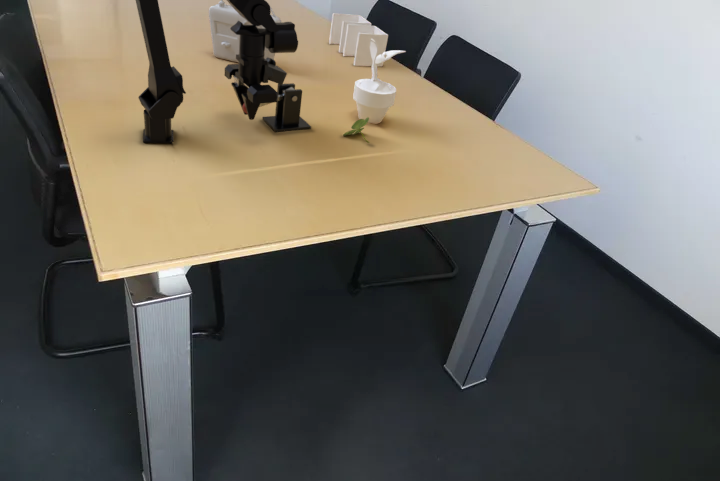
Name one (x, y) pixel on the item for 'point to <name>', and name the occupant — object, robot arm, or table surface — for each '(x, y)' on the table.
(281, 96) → the red knob lever
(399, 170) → the table surface
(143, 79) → the table surface
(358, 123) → the seedling
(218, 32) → the radio
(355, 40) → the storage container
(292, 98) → the lever base
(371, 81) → the potted plant
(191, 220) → the table surface
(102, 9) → the table surface
